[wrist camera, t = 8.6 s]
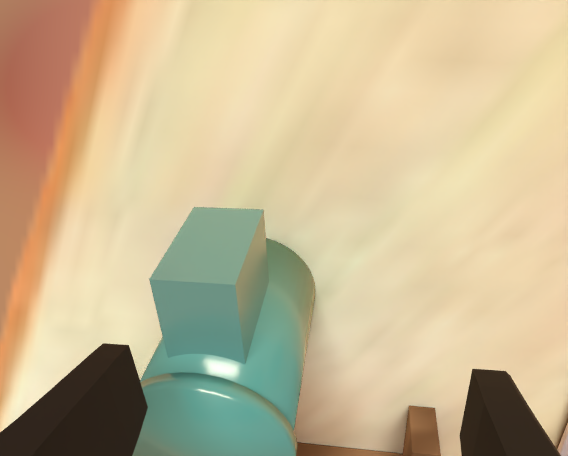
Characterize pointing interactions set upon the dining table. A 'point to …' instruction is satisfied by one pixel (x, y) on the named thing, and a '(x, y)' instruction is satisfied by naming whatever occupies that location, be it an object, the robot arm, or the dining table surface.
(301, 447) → the dock
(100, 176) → the dining table surface
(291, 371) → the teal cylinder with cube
